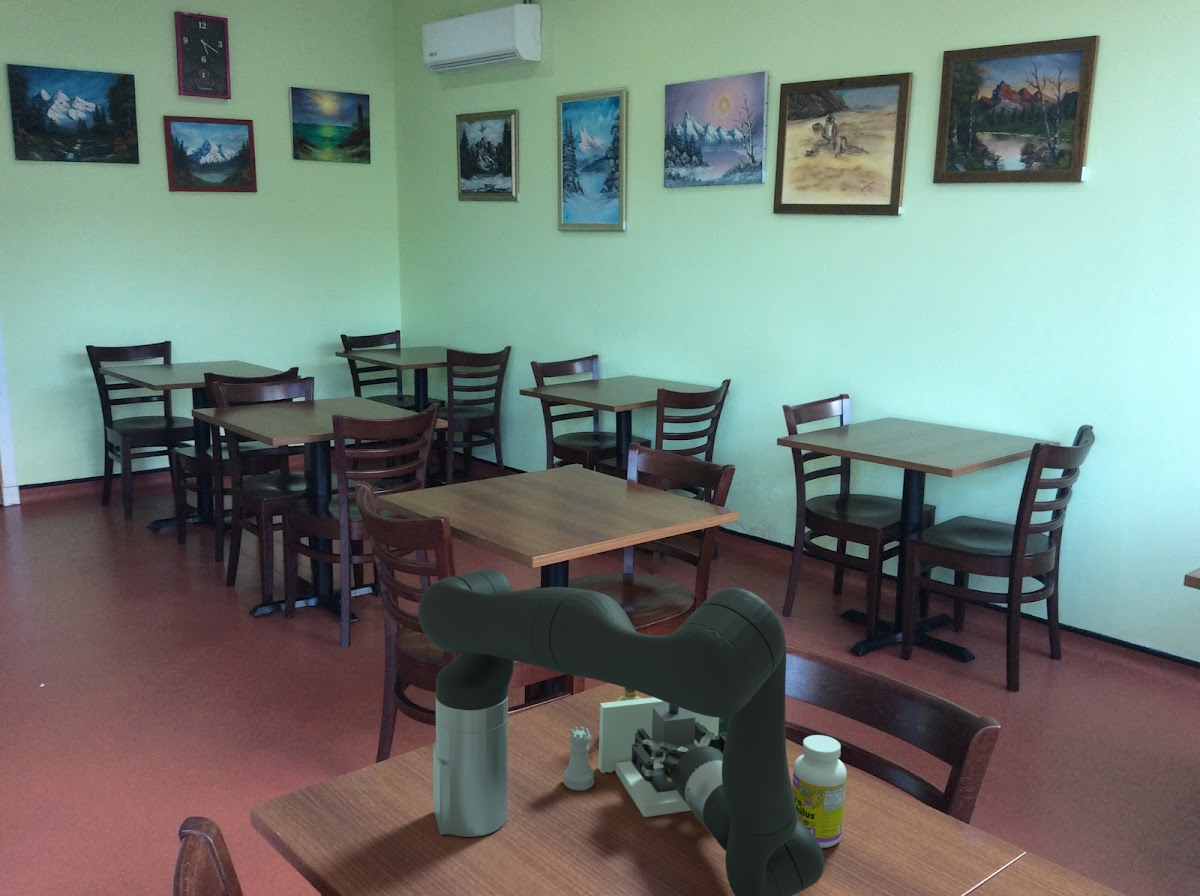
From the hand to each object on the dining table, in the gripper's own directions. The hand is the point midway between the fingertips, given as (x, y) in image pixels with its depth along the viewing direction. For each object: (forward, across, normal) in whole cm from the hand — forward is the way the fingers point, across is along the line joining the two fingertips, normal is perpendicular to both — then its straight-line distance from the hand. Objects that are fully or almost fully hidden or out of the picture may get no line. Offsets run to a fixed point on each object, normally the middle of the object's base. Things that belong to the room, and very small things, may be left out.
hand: (667, 731), depth 140 cm
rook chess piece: (+3, +12, +8) cm, 15 cm away
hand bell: (+16, 0, +8) cm, 17 cm away
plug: (-2, 0, +7) cm, 7 cm away
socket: (-1, -1, +8) cm, 8 cm away
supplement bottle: (-18, -14, +8) cm, 24 cm away
